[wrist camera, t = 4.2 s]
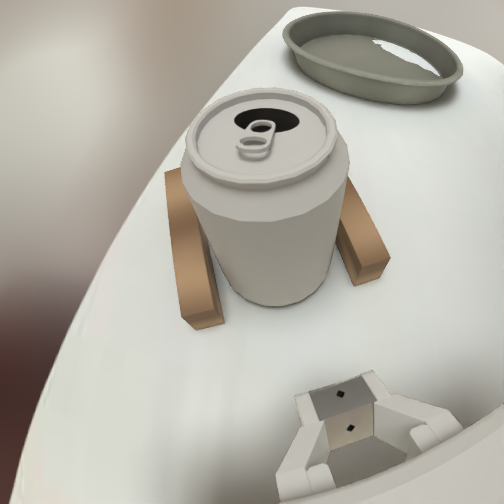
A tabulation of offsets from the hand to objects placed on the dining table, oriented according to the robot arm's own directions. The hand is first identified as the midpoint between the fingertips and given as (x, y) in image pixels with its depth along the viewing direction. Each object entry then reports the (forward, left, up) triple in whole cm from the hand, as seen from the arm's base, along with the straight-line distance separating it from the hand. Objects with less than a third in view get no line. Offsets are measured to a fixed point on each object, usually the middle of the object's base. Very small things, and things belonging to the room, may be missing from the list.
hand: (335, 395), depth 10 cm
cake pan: (-41, -6, -9) cm, 42 cm away
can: (-8, -6, -8) cm, 13 cm away
